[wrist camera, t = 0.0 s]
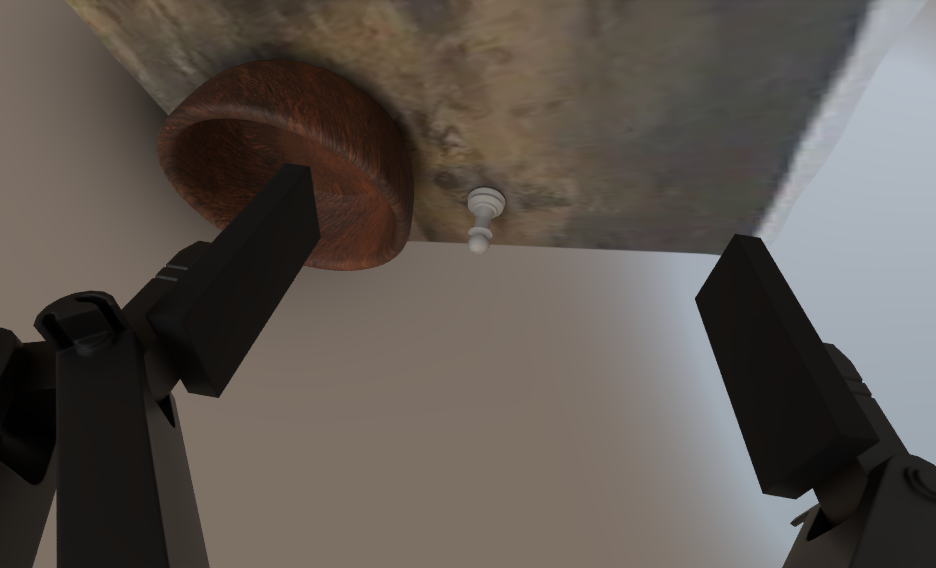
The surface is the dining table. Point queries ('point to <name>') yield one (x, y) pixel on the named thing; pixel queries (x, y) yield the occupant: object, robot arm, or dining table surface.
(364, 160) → the wooden bowl
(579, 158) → the dining table surface
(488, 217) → the chess piece
